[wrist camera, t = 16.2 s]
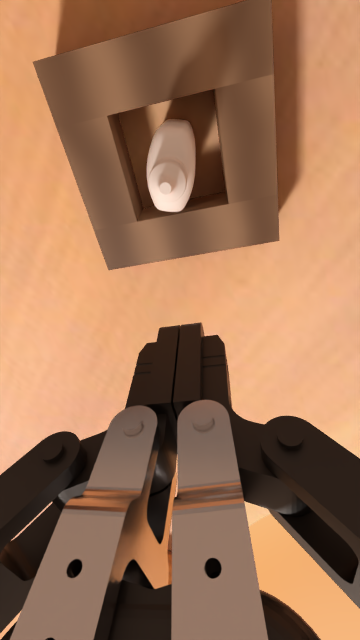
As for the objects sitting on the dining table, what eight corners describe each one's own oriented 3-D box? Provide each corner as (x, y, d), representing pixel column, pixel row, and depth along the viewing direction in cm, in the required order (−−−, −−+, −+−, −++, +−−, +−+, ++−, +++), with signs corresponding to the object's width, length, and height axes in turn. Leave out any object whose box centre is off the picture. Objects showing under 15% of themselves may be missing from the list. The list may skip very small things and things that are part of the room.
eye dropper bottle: (139, 170, 30) (111, 208, 20) (171, 108, 27) (157, 117, 17) (180, 197, 31) (172, 246, 21) (214, 140, 28) (224, 166, 18)
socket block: (260, 7, 23) (271, -7, 20) (270, 225, 32) (279, 240, 29) (53, 65, 25) (32, 61, 22) (117, 253, 34) (108, 270, 31)
